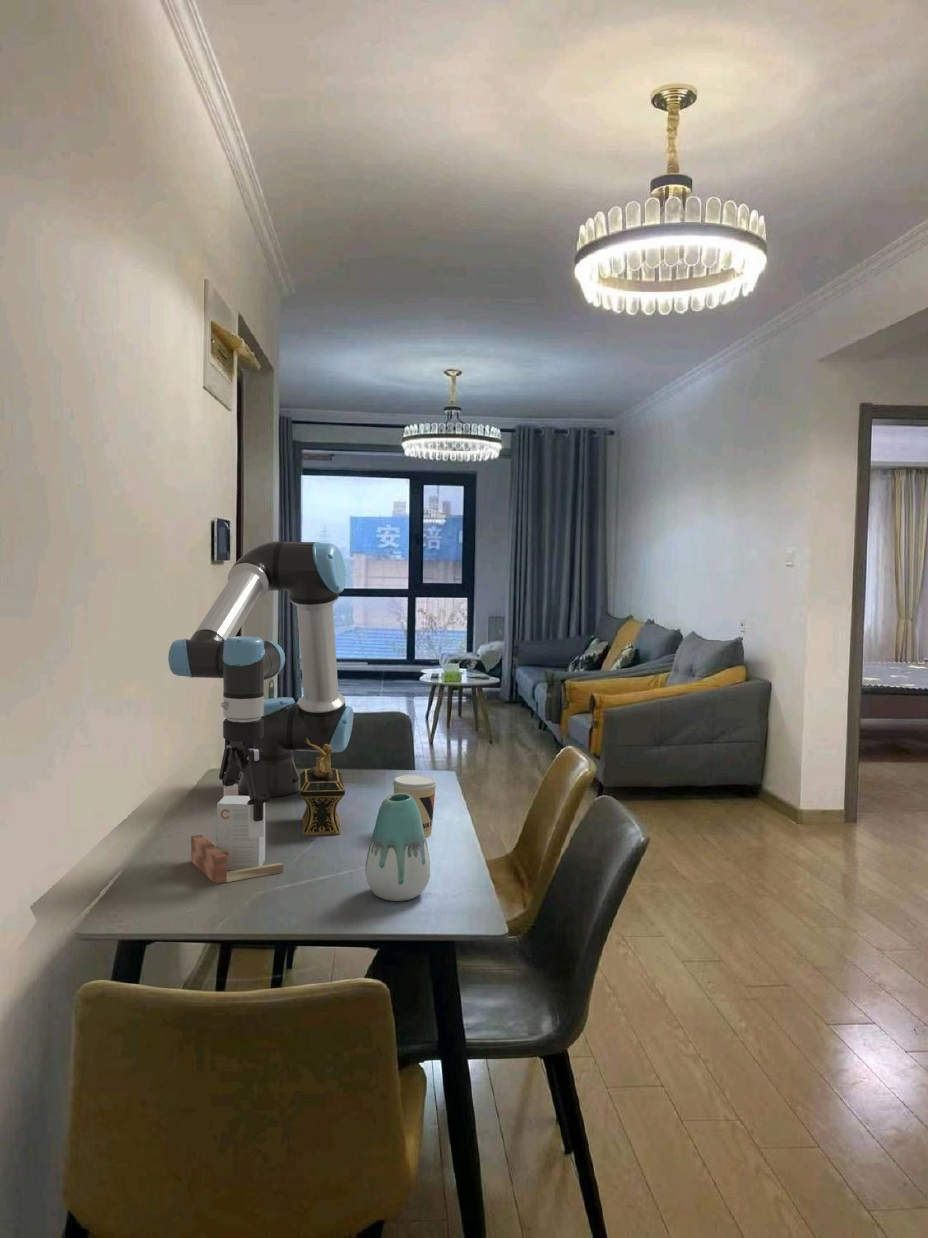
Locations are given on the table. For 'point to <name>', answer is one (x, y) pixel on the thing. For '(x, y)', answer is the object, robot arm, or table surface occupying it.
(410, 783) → the coffee cup
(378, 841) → the vase
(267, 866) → the keeper seat
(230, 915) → the table surface
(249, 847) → the small box
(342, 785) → the decorative box
